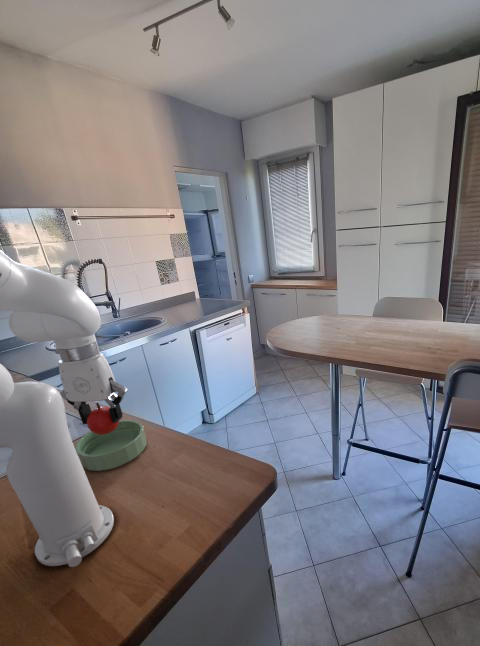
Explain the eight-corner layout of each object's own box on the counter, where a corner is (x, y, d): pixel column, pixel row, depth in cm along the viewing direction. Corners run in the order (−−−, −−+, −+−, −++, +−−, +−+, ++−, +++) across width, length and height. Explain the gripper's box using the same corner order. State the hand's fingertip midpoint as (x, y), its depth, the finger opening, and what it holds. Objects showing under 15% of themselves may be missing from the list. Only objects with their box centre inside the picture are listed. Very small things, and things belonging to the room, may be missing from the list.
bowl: (156, 451, 85) (151, 435, 83) (90, 482, 76) (83, 465, 74) (136, 428, 96) (131, 414, 94) (76, 454, 86) (69, 438, 84)
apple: (126, 431, 82) (116, 401, 79) (95, 443, 78) (84, 412, 75) (117, 422, 87) (108, 393, 84) (88, 433, 83) (78, 403, 80)
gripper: (29, 359, 71) (58, 430, 78) (107, 355, 70) (129, 427, 77) (55, 348, 78) (79, 414, 85) (126, 344, 77) (145, 411, 84)
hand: (103, 420), depth 81 cm, fingers closed on apple, 6 cm apart
